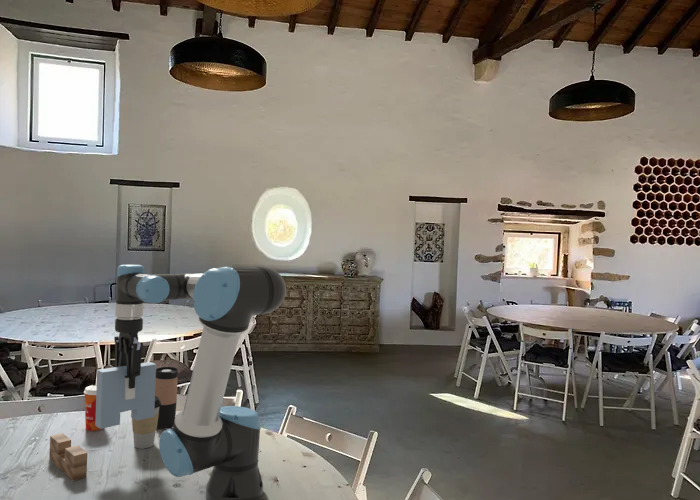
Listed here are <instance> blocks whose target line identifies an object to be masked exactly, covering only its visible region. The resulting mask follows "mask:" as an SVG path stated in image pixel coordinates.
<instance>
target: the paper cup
mask: <svg viewBox="0 0 700 500" xmlns="http://www.w3.org/2000/svg"><path fill="white" fill-rule="evenodd" d="M96 391H97V384H96V385H95V384H94V385H93V384H91V385H89V386H86V387H85V388H84V391H83V394H84V418H85V419H84V421H85V430H86V431H89V432H95V431H96V432H97V431H100V430H103V429H104V428H102V429H100V428H98V427H97V426H95V420H96Z"/></svg>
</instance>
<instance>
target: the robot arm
mask: <svg viewBox="0 0 700 500" xmlns="http://www.w3.org/2000/svg"><path fill="white" fill-rule="evenodd" d="M115 279H116V283H115V285H116V286H115V287H116V290H115V295H116V297H115V309H114V310H115V311H114V314H115V315H114V316H115V317H116V319H115V320H114V330H115V332H116V333H119V334H118V335H117V336H114V338H113V339H114V355H115V356H114V367H120V366H127V376H125V400H128V399H134V398H135V381H136V376H140V370H141V363H142V353H143V347H144V342H139V334H138V333H139V332H142V331H143V329H144V327H143V326H144V319H143V318H142V317H143V316H144V308H145V305H144V302H145V303H147V304H159V303H161V302H164V301H175V300H176V301H177V300H192V301H194V302H193V308H194V311H195V313H196V315H197V316H198V321H199V323H200V324H201V325H202V326H203V328H202V332H201V335H200V340H199V343H198V348H197V353H196V357H195V361H194V365H193V369H192V374H191V378H190V381H189V386H188V390H187V394H186V399H185V402H184V406H183V409H182V410H180V411H178V413H177V414H176V415H175V421H174V425H173V427H172V428H169V429H164V431H162V432H161V434H160V436H159V441H158V442H159V443H158V445H159V453H160V457H161V460H162V462H163V465H164V467H165V469H166V471H168V473H169V474H170V475H172V476H174V477H176V478H181V477H185V476H191V475H193V474H195V473H198V472H201V471H204V470H207V469H209V468H212V471H211V473H210V476H209V479H208V481H207V484H206V486H205V499H206V500H261V498H262V497H263V495H264V483H263V479H262V476H261V472H260V468H259V453H260V452H259V450H260V449H259V448H260V436H261V435H260V434H261V433H260V432H261V416H260V414H259V413H258V412H257V411H256V410H254V409H252V408H248V407H247V406H246V407H245V406H238V405H224V406H222V404H223V400H224V396H225V393H226V390H227V386H228V385H227V384H228V381H229V378H230V374H231V370H232V366H233V365H232V364H233V361H234V357H235V354H236V350H237V348H238V347H237V346H238V343H239V339H240V335H241V334H243V333H245V332H246V331H247V330H248V329H249V326H250V322H251V319H252V317H253V316H255V317H256V316H261V315H266V314H269V313H273V312H274V311H276V310H277V309H279V308H280V306H281V305H282V304H283V302H284V301H285V298H286V294H287V287H286V282H285V280H284V278H283V276H282V275H281V274H280V273H279V271H277V270H275V269H273V268H270V267H267V266H243V267H242V266H240V267H239V266H238V267H237V266H236V267H235V266H233V267H230V266H220V267H216V268H215V267H213V268H210V269H208V270H207V271H205V272H203V273H199V272H191V273H165V274H164V273H163V274H161V273H157V274H155V273H154V274H147V273H146V271H145V266H144V265H143V264H142V265H141V264H130V263H129V264H120V265H119V266H118V267H117V272H116V277H115Z"/></svg>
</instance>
